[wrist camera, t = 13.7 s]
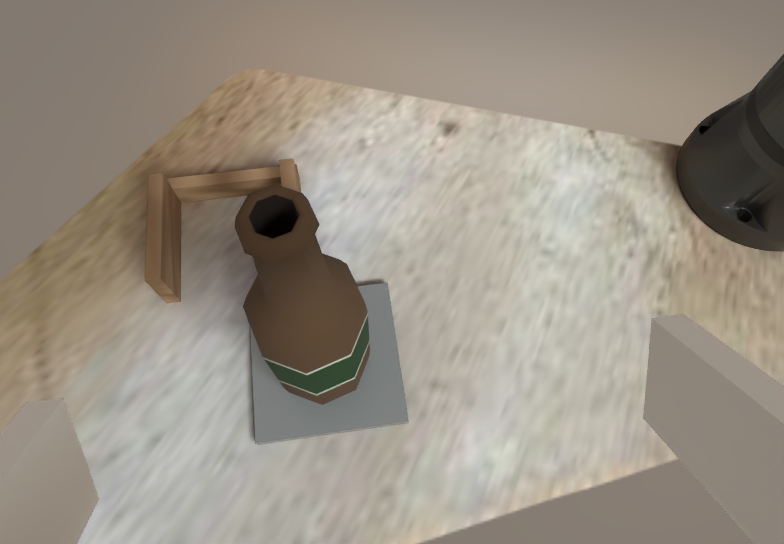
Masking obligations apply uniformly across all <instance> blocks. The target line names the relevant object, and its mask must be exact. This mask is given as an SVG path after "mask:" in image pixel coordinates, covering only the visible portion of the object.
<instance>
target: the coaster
mask: <svg viewBox="0 0 784 544" xmlns="http://www.w3.org/2000/svg"><path fill="white" fill-rule="evenodd" d="M357 287H358V289H359V291H360V293H361V295H362V297H363V299H364V301H365V304H366V308H367V311H368V323H369V341H370V354H369V358H368V361H367V363H366V366H365V368H364V371H363V373H362V376H361V378H360V381H359V384H358V386H357V389H356V390H354V391H352V392H350V393H348V394H346V395H343V396H341V397H339V398H337V399H335V400H332V401H330V402H328V403H326V404H323V405H321V404H318V403H316V402H313V401H310V400H308V399H305V398H303V397H300V396H297V395H295V394H292V393H289V392H288V391H287V390H286V389H284V387H283V386H282V384H281V383H280V381H279V380H278V379H277V377H276V376H275V374H274V373H273V371H272V370H271V369H270V367H269V366H268V364H267V363H266V361H265V360H264V359H263V357H262V355H261V352H260V350H259V347H258V344H257V342H256V339H255V337H254V334H253V331H252V329H251V326H250V336H251V358H252V380H253V402H254V423H255V444H257V445H260V444H267V443H274V442H281V441H287V440H294V439H301V438H308V437H315V436H322V435H329V434H336V433H343V432H350V431H357V430H364V429H371V428H377V427H384V426H391V425H398V424H405V423H408V422H409V421H408V414H407V407H406V401H405V394H404V388H403V381H402V375H401V368H400V362H399V355H398V348H397V342H396V335H395V329H394V322H393V316H392V309H391V302H390V296H389V289H388V283H380V284H372V285H364V286H357Z"/></svg>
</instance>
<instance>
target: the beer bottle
mask: <svg viewBox="0 0 784 544" xmlns="http://www.w3.org/2000/svg"><path fill="white" fill-rule="evenodd" d="M318 226H319V223H318V220H317V218H316V216H315V214H314V212H313V210H312V208H311V205H310V203H309V201H308V199H307V198H306V197H305V196H304V195H303V194H302V193H301V192H298V191H295V190H292V189H289V188H286V187H283V186H280V185H277V184H274V185H271V186H269V187H266V188H263V189H261V190H258V191H255V192H252V193H250V194H248V196H247V198H246V200H245V201H244V203H243V205H242V207H241V209H240V210H239V212H238V214H237V216H236V220H235V229H236V231H237V234H238V236H239V239H240V241H241V244H242V246H243V249H244V251H245V253H246V254H249V255H252V257H253V260H254V263H255V266H256V269H257V272H258V275H257V277H256V279H255V281H254V283H253V285H252V287H251V289H250V291H249V293H248V295H247V297H246V300H245V302H244V305H243V308H244V310H245V313H246V316H247V318H248V321H249V323H250V326H251V329H252V331H253V334H254V337H255V339H256V342H257V344H258V347H259V350H260V352H261V355H262V357H263V359H264V360H265V361H266V363H267V364H268V366H269V367H270V369H271V370H272V371H273V373H274V374H275V376H276V377H277V379H278V380H279V381H280V383H281V384H282V386H283V387H284V389H286V390H287V391H288V392H289V393H292V394H295V395H297V396H300V397H303V398H305V399H308V400H310V401H313V402H316V403H318V404H321V405H323V404H326V403H328V402H330V401H332V400H335V399H337V398H339V397H341V396H343V395H346V394H348V393H350V392H352V391H354V390H356V389H357V386H358V384H359V381H360V378H361V376H362V373H363V371H364V368H365V366H366V363H367V361H368V358H369V354H370V341H369V323H368V311H367V308H366V304H365V301H364V299H363V297H362V295H361V293H360V291H359V289H358V287H357V285H356V282H355V280H354V278H353V276H352V274H351V272H350V270H349V268H348V265H347V264H346V263H344V262H342V261H341V260H339V259H336V258H333V257H330V256H328V255H325V254H322V252H321V250H320V247H319V244H318V241H317V238H316V236H315V233H316V231H317V228H318Z"/></svg>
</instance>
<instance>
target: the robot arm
mask: <svg viewBox="0 0 784 544" xmlns="http://www.w3.org/2000/svg"><path fill="white" fill-rule="evenodd" d="M677 175H678V180H679V184H680V187H681V190H682V192H683V194H684V196H685V198H686V200H687V201H688V203H689V205H690V206H691V207H692V209H693V210H694V211H695V212H696V214H697V215H698V216H699V217H700V218H701V219H702V220H703V221H704V222H705V223H706V224H708V225H709V226H710V227H711V228H713V229H714V230H715V231H717V232H718V233H720V234H721V235H723V236H725V237H727V238H728V239H730V240H732V241H735V242H737V243H739V244H742V245H745V246H748V247H751V248H755V249H760V250H767V251H784V54H783V55H782V56H781V58H780V59H779V60H778V61H777V62H776V63H775V65H774V66H773V67H772V68H771V69H770V70H769V71H768V72H767V74H766V75H765V76H764V77H763V78H762V80H761V81H760V82H759V83H758V84H757V85H756V87H755V88H754V89H753V90H752V91H750V92H749V93H747V94H745V95H744V96H742V97H740V98H738V99H737V100H735V101H733V102H731V103H730V104H728V105H726V106H725V107H723V108H721V109H719V110H718V111H716V112H714V113H713V114H711V115H709V116H708V117H707V118H705V119H704V120H703V121H702V122H701V123H700V124H699V125H698V126H697V127H696V128H695V129H694V131H693V132H692V133H691V134H690V136H689V137H688V138H687V139H686V141H685V142H684V144H683V145H682V147H681V150H680V152H679V156H678V160H677ZM643 418H644V420H645V421H646V422H647V423H648V424H649V425H650V426H651V427H652V429H653V430H654V431H655V432H656V433H657V434H658V435H659V437H660V438H661V439H662V440H663V441H664V442H665V443H666V444H667V446H668V447H669V448H670V449H671V450H672V451H673V452H674V454H675V455H676V456H677V457H678V458H679V459H680V460H681V461H682V463H683V464H684V465H685V466H686V467H687V468H688V469H689V470H690V472H691V473H692V474H693V475H694V476H695V477H696V478H697V480H698V481H699V482H700V483H701V484H702V485H703V486H704V487H705V488H706V490H707V491H708V492H709V493H710V494H711V495H712V497H713V498H714V499H715V500H716V501H717V502H718V503H719V504H720V505H721V507H722V508H723V509H724V510H725V511H726V512H727V513H728V515H729V516H730V517H731V518H732V519H733V520H734V521H735V522H736V524H737V525H738V526H739V527H740V528H741V529H742V530H743V532H744V533H745V534H746V535H747V536H748V537H749V538H750V540H751V541H752V542H753V543H754V544H784V386H783V385H782V384H780V383H779V382H777V381H776V380H775V379H773V378H772V377H770V376H769V375H768V374H766V373H765V372H763V371H762V370H761V369H759V368H758V367H757V366H755V365H754V364H752V363H751V362H750V361H748V360H747V359H745V358H744V357H743V356H741V355H740V354H738V353H737V352H736V351H734V350H733V349H731V348H730V347H729V346H727V345H726V344H725V343H723V342H722V341H720V340H719V339H718V338H716V337H715V336H713V335H712V334H711V333H709V332H708V331H706V330H705V329H704V328H702V327H701V326H699V325H698V324H697V323H695V322H694V321H693V320H691V319H690V318H688V317H687V316H686V315H684V314H680V315H673V316H665V317H658V318H652V323H651V335H650V346H649V358H648V369H647V381H646V392H645V404H644V415H643ZM98 500H99V497H98V494H97V491H96V488H95V485H94V482H93V479H92V477H91V474H90V471H89V468H88V465H87V462H86V459H85V457H84V454H83V451H82V448H81V445H80V442H79V439H78V437H77V434H76V431H75V428H74V425H73V422H72V420H71V417H70V414H69V411H68V408H67V405H66V402H65V400H64V398H57V399H50V400H43V401H35V402H28V403H26V404H25V405H24V406H23V407H22V409H21V410H20V411H19V412H18V413H17V415H16V416H15V417H14V418H13V419H12V420H11V422H10V423H9V424H8V425H7V426H6V428H5V429H4V430H3V431H2V432H1V433H0V544H77V542H78V540H79V538H80V536H81V534H82V532H83V530H84V528H85V526H86V524H87V522H88V520H89V518H90V516H91V514H92V512H93V510H94V508H95V506H96V504H97V502H98Z"/></svg>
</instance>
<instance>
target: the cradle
mask: <svg viewBox="0 0 784 544" xmlns="http://www.w3.org/2000/svg"><path fill="white" fill-rule="evenodd" d="M274 184H277V185H280V186H283V187H286V188H289V189H292V190H295V191H298V192H301V187H300V178H299V174H298V169H297V165H296V164H295V163H294V159H284V160H280V166H276V167H267V168H257V169H248V170H239V171H230V172H221V173H211V174H202V175H193V176H184V177H174V178H166V177H165V176H164V174H163V173H154V174H148V200H147V231H146V261H145V281H146V282H147V283H148V284H149V285H150V286H151V287H152V288H153V289H154V290H155V292H156V293H157V294H158V295H159V296H160V297H161V298H162V299H163V300H164V301H165V302H166V303H171V302H179V301H181V203H182V202H191V201H200V200H209V199H218V198H227V197H236V196H245V195H248V194H250V193H252V192H255V191H258V190H261V189H263V188H266V187H269V186H271V185H274Z"/></svg>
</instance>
